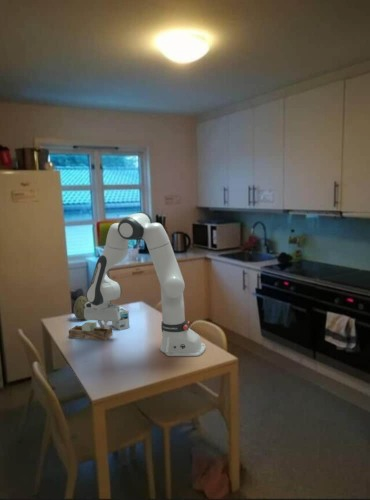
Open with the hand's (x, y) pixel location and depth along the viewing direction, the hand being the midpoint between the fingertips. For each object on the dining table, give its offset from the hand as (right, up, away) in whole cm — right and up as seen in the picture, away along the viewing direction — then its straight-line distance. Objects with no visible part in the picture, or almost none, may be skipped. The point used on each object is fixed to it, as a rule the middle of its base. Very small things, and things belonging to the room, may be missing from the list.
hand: (103, 327), depth 208 cm
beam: (-7, -5, +3) cm, 9 cm away
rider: (-8, -3, +2) cm, 9 cm away
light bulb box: (+7, -3, +16) cm, 18 cm away
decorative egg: (-19, -1, +31) cm, 37 cm away
